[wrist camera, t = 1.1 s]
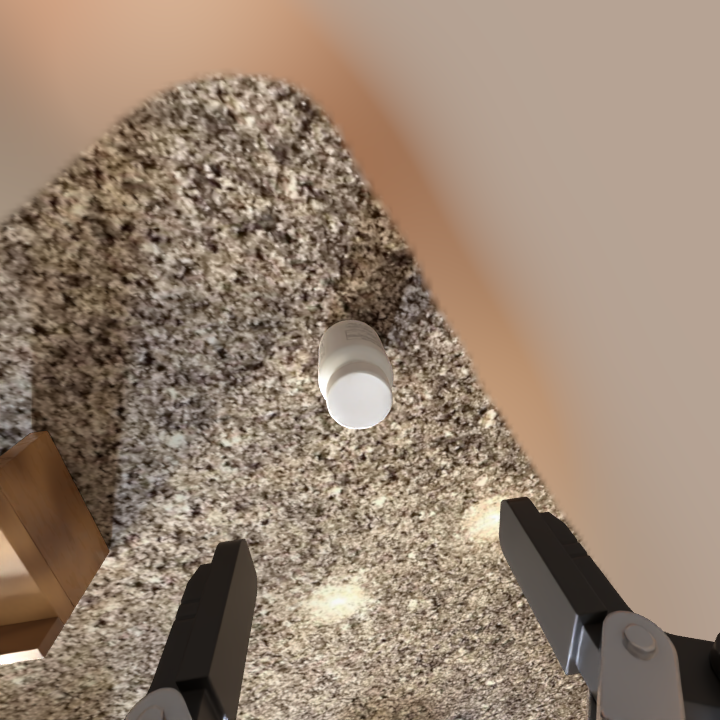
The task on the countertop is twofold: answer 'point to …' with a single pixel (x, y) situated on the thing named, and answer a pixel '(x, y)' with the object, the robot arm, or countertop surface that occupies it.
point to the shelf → (41, 548)
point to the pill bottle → (355, 374)
